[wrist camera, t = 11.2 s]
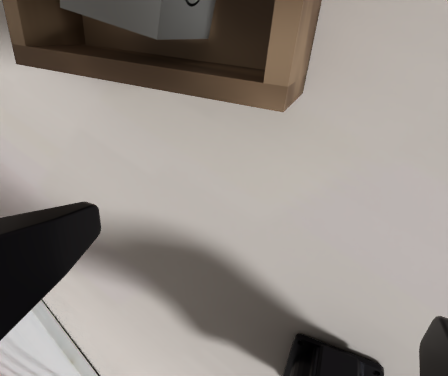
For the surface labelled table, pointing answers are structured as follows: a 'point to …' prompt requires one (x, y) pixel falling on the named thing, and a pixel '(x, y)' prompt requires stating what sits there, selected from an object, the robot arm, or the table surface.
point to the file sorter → (41, 348)
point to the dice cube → (151, 16)
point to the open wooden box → (178, 50)
